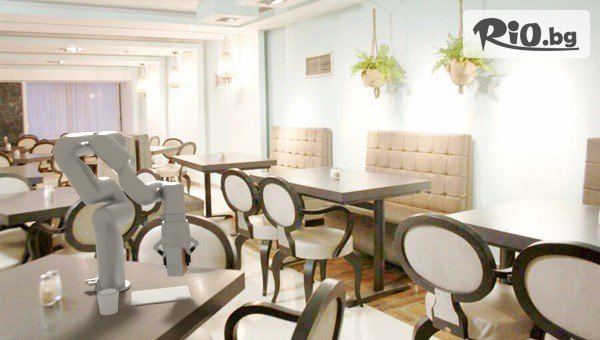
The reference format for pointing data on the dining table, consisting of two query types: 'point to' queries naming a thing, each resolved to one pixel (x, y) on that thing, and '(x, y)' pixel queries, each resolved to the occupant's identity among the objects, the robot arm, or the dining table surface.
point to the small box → (176, 261)
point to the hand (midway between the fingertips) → (177, 265)
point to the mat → (160, 295)
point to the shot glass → (108, 301)
